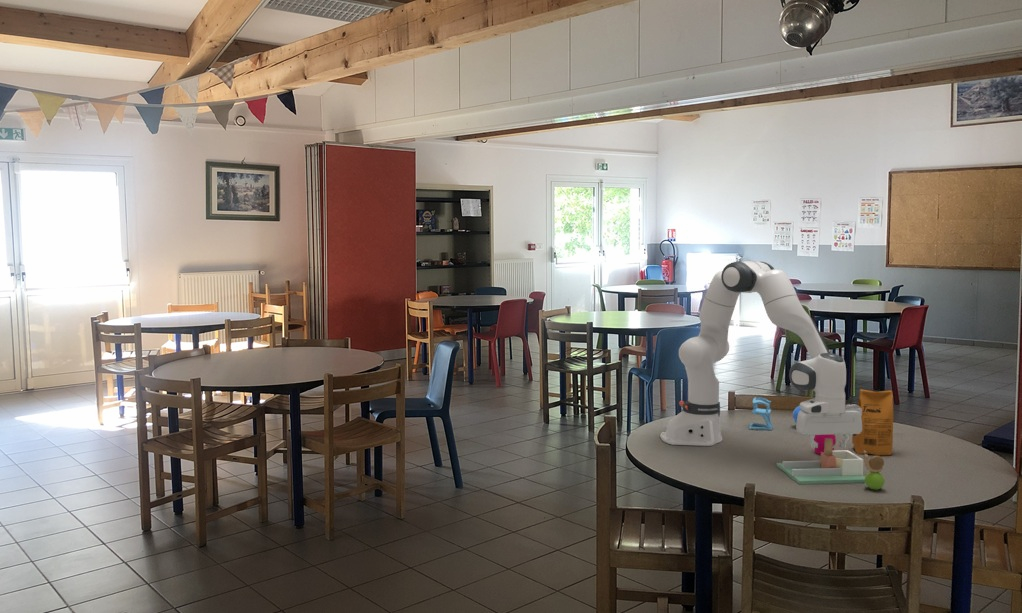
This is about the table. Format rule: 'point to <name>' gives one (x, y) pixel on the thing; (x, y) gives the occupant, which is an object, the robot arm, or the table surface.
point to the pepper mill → (823, 442)
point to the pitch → (826, 470)
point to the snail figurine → (874, 472)
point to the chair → (762, 414)
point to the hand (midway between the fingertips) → (828, 447)
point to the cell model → (796, 413)
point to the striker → (828, 455)
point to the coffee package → (875, 423)
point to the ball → (838, 463)
